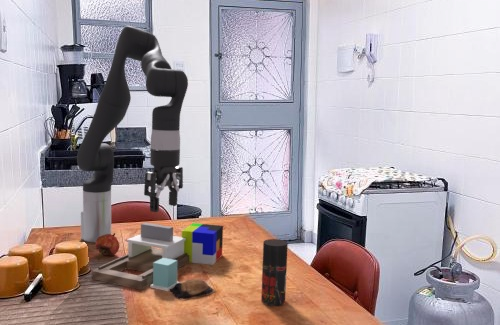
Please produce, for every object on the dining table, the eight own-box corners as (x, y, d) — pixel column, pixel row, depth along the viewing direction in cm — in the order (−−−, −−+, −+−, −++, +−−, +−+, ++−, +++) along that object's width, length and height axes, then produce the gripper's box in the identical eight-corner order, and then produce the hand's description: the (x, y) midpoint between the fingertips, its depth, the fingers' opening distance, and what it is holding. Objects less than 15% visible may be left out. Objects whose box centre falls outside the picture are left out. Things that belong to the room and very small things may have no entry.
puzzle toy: (212, 266, 144) (213, 233, 143) (181, 262, 146) (182, 230, 145) (222, 256, 154) (222, 225, 152) (192, 252, 156) (193, 223, 155)
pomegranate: (111, 267, 145) (130, 242, 151) (98, 252, 141) (117, 226, 147) (96, 265, 149) (115, 240, 155) (82, 250, 145) (102, 225, 151)
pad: (150, 287, 125) (150, 285, 125) (161, 280, 130) (162, 278, 130) (168, 291, 123) (168, 288, 123) (179, 284, 128) (179, 282, 128)
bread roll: (202, 284, 130) (203, 271, 129) (218, 295, 123) (218, 281, 123) (166, 291, 124) (166, 278, 124) (180, 303, 117) (180, 288, 117)
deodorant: (260, 296, 121) (262, 239, 120) (283, 296, 122) (285, 239, 120) (262, 306, 116) (264, 246, 114) (286, 306, 116) (289, 246, 114)
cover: (126, 256, 141) (127, 226, 140) (146, 247, 151) (147, 219, 149) (167, 264, 136) (167, 232, 135) (185, 254, 145) (185, 224, 144)
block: (167, 287, 123) (168, 265, 123) (153, 284, 125) (153, 262, 124) (177, 282, 127) (177, 260, 127) (162, 279, 129) (162, 257, 128)
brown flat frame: (91, 278, 129) (91, 268, 129) (146, 253, 152) (146, 245, 152) (140, 289, 123) (141, 279, 123) (190, 261, 146) (190, 252, 146)
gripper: (168, 144, 132) (167, 201, 134) (136, 148, 119) (135, 211, 121) (192, 146, 129) (190, 205, 131) (161, 150, 116) (160, 215, 118)
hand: (163, 208), depth 126 cm, fingers open, 8 cm apart
